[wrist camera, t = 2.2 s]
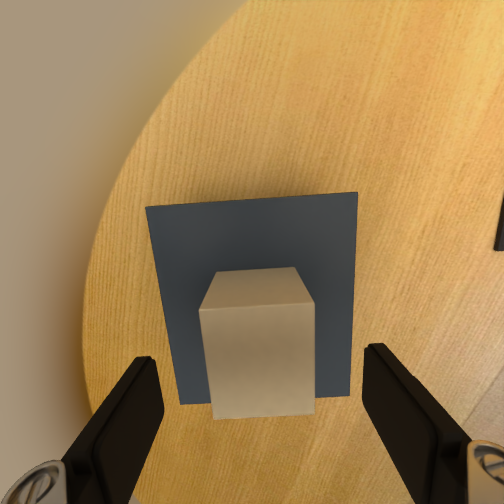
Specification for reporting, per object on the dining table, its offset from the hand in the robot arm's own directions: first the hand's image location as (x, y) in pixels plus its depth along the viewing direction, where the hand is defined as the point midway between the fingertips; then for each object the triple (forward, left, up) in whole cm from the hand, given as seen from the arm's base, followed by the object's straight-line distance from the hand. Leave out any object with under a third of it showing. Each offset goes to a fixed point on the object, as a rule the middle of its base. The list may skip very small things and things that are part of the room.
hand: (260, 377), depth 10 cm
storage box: (0, 0, -12) cm, 12 cm away
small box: (0, 0, -5) cm, 5 cm away
